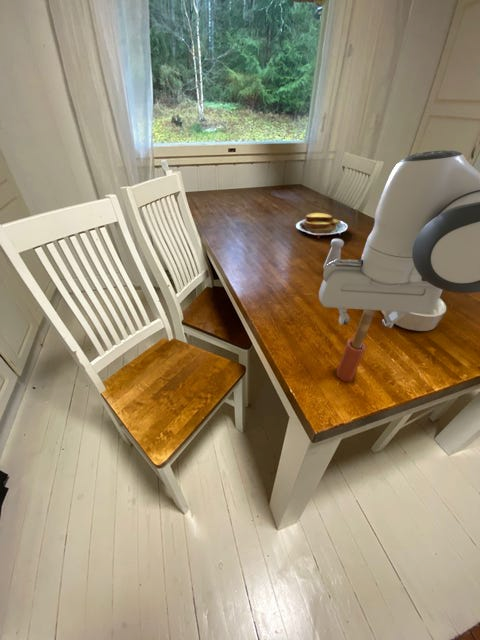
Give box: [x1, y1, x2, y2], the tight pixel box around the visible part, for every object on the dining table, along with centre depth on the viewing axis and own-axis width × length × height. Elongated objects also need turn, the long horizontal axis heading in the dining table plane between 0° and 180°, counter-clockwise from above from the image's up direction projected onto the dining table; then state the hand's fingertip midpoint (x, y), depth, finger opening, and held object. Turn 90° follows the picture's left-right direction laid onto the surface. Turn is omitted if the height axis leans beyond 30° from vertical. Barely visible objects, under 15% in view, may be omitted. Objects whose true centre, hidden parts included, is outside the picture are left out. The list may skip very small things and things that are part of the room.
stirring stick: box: [351, 310, 375, 349], centre depth 59 cm, size 2×2×18 cm
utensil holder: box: [336, 338, 367, 382], centre depth 62 cm, size 4×4×10 cm
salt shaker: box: [323, 238, 345, 269], centre depth 99 cm, size 6×6×13 cm
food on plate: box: [295, 212, 349, 239], centre depth 136 cm, size 25×25×7 cm
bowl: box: [380, 297, 447, 332], centre depth 81 cm, size 16×16×6 cm
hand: (364, 324), depth 55 cm, fingers open, 7 cm apart
